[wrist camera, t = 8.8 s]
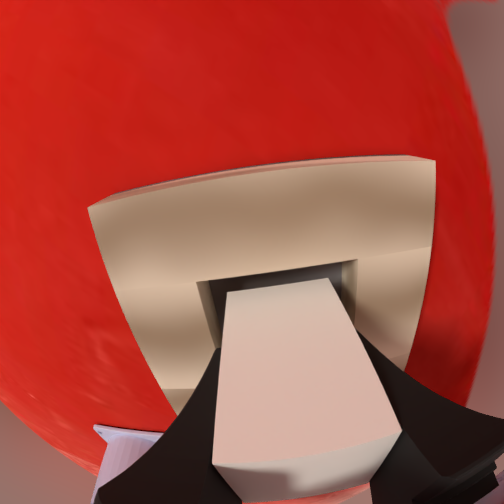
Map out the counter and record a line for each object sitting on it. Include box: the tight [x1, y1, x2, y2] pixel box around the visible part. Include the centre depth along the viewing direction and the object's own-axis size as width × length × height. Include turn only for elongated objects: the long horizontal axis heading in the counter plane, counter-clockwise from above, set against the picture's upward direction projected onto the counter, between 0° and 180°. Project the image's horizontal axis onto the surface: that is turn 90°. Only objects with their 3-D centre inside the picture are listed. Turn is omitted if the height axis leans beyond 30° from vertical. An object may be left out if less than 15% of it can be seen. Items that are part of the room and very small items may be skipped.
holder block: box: [88, 155, 436, 416], centre depth 12 cm, size 13×13×2 cm
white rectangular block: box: [212, 278, 402, 503], centre depth 8 cm, size 4×4×7 cm
